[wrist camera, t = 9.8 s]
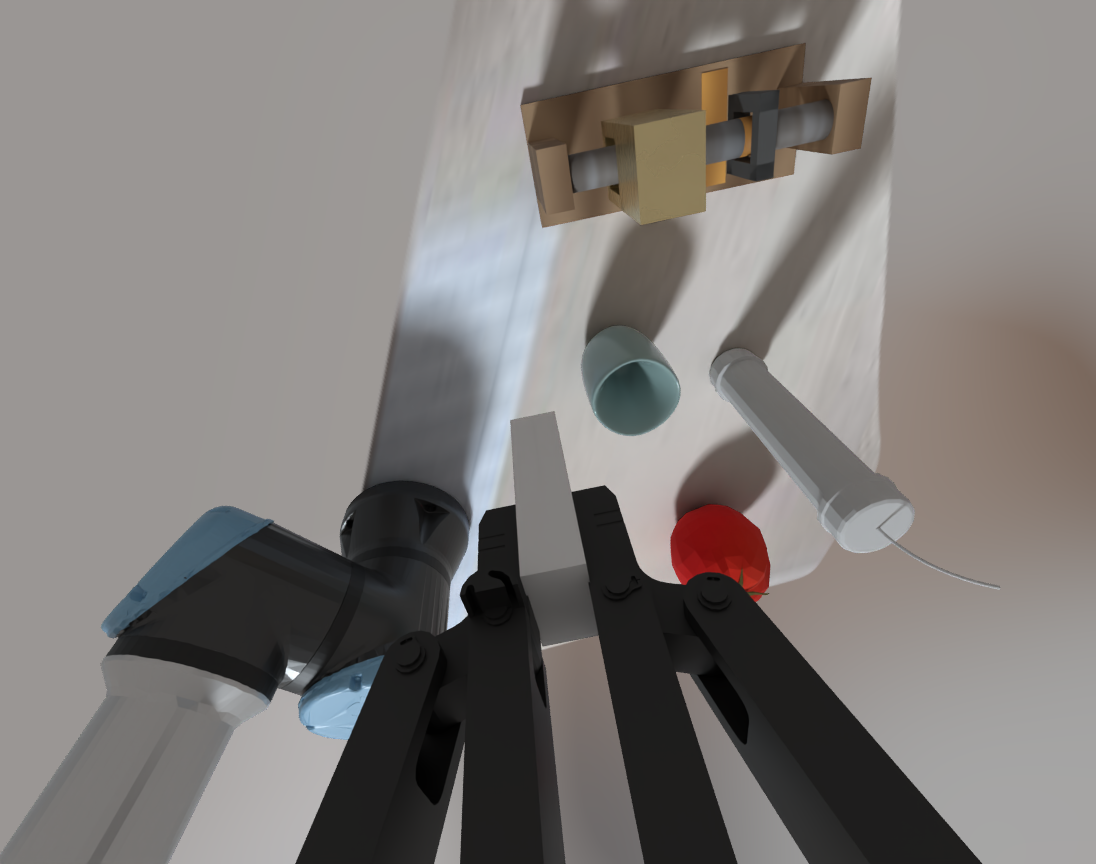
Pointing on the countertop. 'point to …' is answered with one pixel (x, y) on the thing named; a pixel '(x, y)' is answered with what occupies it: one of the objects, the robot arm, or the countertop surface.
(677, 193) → the sleeve
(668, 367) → the cup
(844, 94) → the rail
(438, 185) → the countertop surface
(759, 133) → the dark grey square ring
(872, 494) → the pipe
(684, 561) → the tomato
